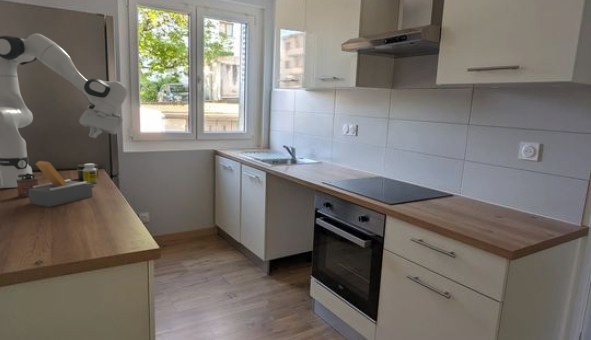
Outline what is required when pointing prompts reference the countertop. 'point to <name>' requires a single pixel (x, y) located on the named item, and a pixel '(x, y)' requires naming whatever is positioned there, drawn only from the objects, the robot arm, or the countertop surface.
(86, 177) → the pill bottle
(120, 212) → the countertop surface
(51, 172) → the lever
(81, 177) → the jar
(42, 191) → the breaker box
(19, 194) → the lighter
